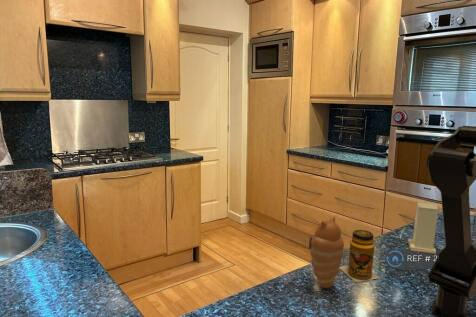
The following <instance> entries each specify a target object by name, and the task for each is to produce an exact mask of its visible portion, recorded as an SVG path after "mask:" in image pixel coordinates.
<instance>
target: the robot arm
mask: <svg viewBox="0 0 476 317" xmlns="http://www.w3.org/2000/svg"><path fill="white" fill-rule="evenodd" d="M460 146H467V147H475V148H476V126H474V125H462V126H458V127H457V128H456V129H455V131H454V132H453V133H452V134H450V135H449V136H446V137H445V138H443V139H441V140H439V141H437V143H436V144H435V146H434V147H433V148H432V150H431V151H430V152H429V154H428V156H427V158H426V167H427V170H428V175H429V179H430V181H431V182H432V184H433V185H434V186H435V187H436V189H438V190H439V192H440V198H441V199H440V200H441V209H442V212H441V213H442V219H443V220H442V221H443V222H442V224H443V234H444V247H443V248H442V249H441V251H440V252H439V253H438V254H437V257H436V260H435V261H434V263H433V266H432V268H431V269H430V271H429V273H428V282H430V283H433V284H435V285H437V292H436V298H434V301H433V302H434V303H433V305H432V310H431V313H432V314H433V315H435V316H438V317H468V308H467V302H468V299H471V298H473V297H474V296H475V295H476V245H474V244H472V231H471V230H472V229H471V226H472V225H471V210H470V208H471V205H470V187H471V186H472V185H473V184H474V182H475V181H476V153H475V151H470V150H462V149H458V148H459V147H460Z"/></svg>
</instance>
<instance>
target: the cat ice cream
mask: <svg viewBox="0 0 476 317" xmlns="http://www.w3.org/2000/svg"><path fill="white" fill-rule="evenodd" d="M341 235H342V232H341V227H340V226H339V224H337V223H336V216H332V217H330V219H329V220H326V221H324V220H322V221H321V223H320V224H318V225H317V227H316V228H315V231H314V234H312V237H311V241H310V246H311V249H310V256H311V261H310V262H311V266H312V269H313V274H314V276H315V278H316V281H317V285H318V286H319V287H320V288H322V289H323V288H324V289H329V288H331V287H332V286H333V285H334V283H335V279H336V277H337V276H338V274H339V271H340V268H339V267H341V264H342V259H343V258H344V254H345V253H344V246H345V243H344V239H343V237H342V236H341Z"/></svg>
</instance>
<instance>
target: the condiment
mask: <svg viewBox="0 0 476 317" xmlns="http://www.w3.org/2000/svg"><path fill="white" fill-rule="evenodd" d="M374 252H375V244H374V234H373V233H372V232H371V231H369V230H366V229H355V230H353V231H352V236H351V240H350V242H349V255H348V256H349V257H348V264H347V265H343V266H340V267H339V270H341V271H342V272H343V273H344V274H346V275H347V277H349V278H350V279H352V281H354V282H355V283H360V282H367V281H372V280H375V279H376V280H377V279H380V277H379V276H377V275H376V274H375V273H373V263H374V255H375V254H374ZM347 271H348V272H347Z"/></svg>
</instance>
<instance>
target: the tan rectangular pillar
mask: <svg viewBox="0 0 476 317" xmlns="http://www.w3.org/2000/svg"><path fill="white" fill-rule="evenodd" d="M438 213H439V208H438V207H437V205H436V204H435V203H425V202H417V203H416V209H415V219H414V227H413V237H412V239H413V243H414V247H420V248H426V249H433V246H434V245H435V237H436V236H435V235H436V228H437V222H438V221H437V220H438V215H439V214H438ZM434 247H435V246H434Z"/></svg>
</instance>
